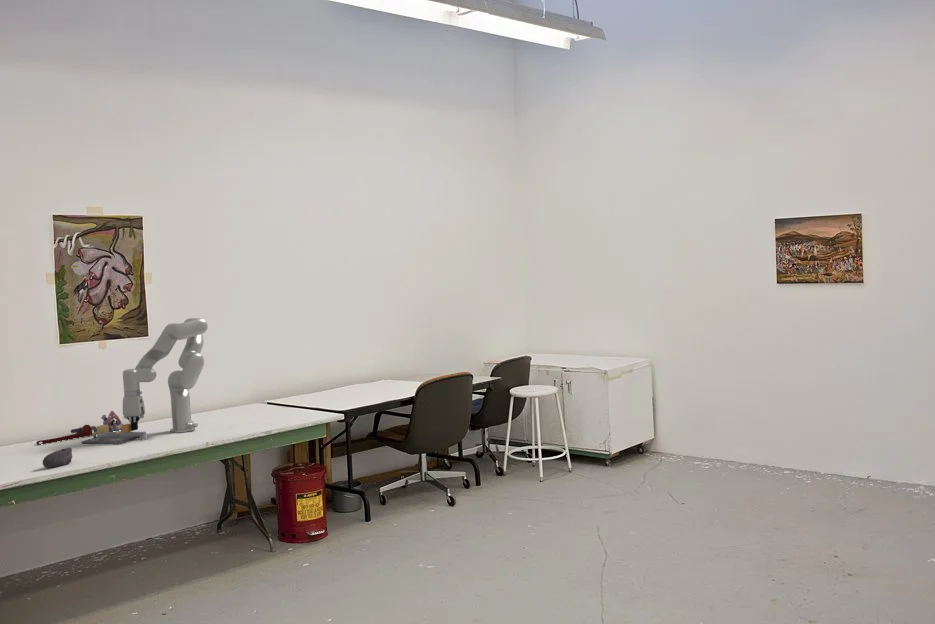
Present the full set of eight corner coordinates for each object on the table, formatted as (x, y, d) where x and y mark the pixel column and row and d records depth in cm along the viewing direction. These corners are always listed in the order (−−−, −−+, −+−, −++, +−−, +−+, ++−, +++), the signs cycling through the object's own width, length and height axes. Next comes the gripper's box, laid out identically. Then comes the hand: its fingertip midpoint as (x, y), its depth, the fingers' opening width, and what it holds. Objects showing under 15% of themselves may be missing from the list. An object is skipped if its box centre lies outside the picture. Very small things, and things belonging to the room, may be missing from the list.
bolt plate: (148, 437, 437) (147, 424, 437) (129, 444, 422) (128, 430, 422) (102, 438, 444) (101, 424, 443) (81, 444, 428) (80, 430, 428)
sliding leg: (134, 433, 439) (133, 423, 438) (120, 437, 428) (120, 427, 428) (127, 433, 440) (126, 423, 439) (113, 438, 429) (113, 427, 429)
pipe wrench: (36, 446, 434) (96, 435, 455) (37, 447, 432) (98, 435, 453) (34, 433, 434) (95, 422, 455) (36, 434, 432) (97, 423, 453)
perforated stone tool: (47, 470, 371) (45, 454, 371) (39, 469, 374) (37, 453, 373) (77, 462, 385) (76, 447, 384) (69, 462, 387) (68, 446, 387)
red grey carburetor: (116, 428, 456) (103, 410, 458) (103, 441, 459) (90, 423, 460) (130, 424, 467) (118, 407, 469) (117, 436, 470) (105, 419, 471)
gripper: (149, 392, 437) (152, 428, 437) (123, 392, 440) (126, 428, 441) (140, 394, 429) (143, 431, 430) (114, 395, 433) (116, 431, 434)
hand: (134, 429), depth 435 cm, fingers closed
